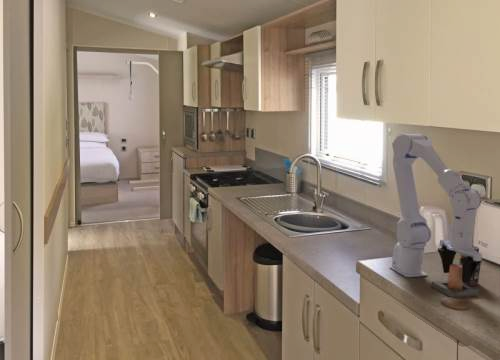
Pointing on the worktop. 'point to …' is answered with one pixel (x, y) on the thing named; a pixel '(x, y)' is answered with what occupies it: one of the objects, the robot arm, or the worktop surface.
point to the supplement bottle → (475, 275)
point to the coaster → (454, 303)
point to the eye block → (465, 291)
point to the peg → (455, 277)
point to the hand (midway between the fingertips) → (456, 277)
